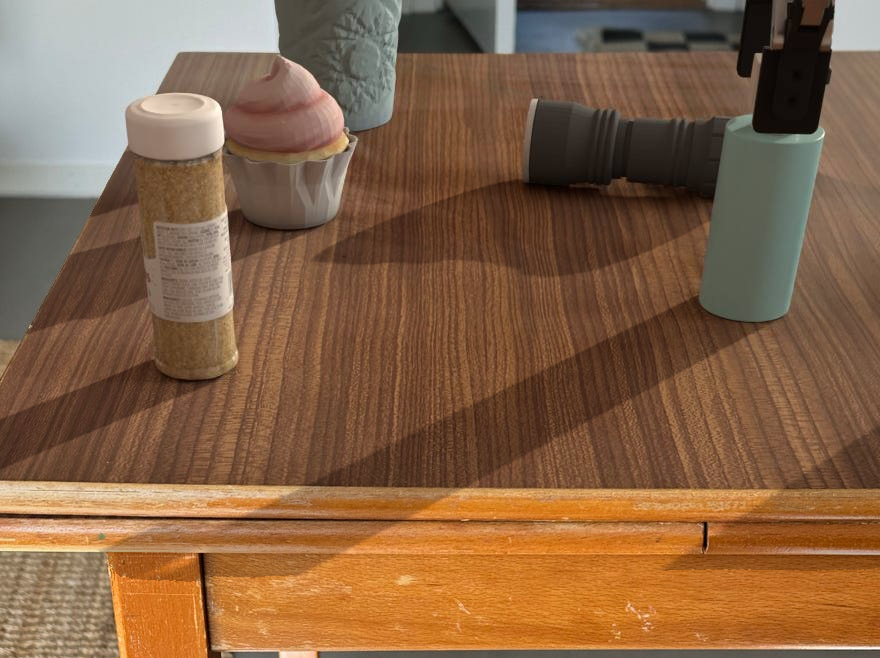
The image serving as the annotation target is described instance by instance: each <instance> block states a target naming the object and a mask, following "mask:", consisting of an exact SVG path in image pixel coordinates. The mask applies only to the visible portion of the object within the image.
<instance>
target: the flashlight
mask: <svg viewBox="0 0 880 658" xmlns="http://www.w3.org/2000/svg"><path fill="white" fill-rule="evenodd" d="M735 117H736V116H727V115H714V116H712V117H711V119H705V118H695V120H694V121H690V120H688V119H687V118H686V117H685V118H682V119H680V118H678V117H673V118H672V119H666V118H655V117H642V116H634V118H633V120H630V118H628V117H621V111H620V110H619V109H618V108H616V109H614V110H612V109H611V108H606V109H604V108H603V107H599V108H597V109H595V108H592V107H590V106H587V105H584V104H582V103H579V102H575V101H567V100H564V101H563V100H553V99H552V100H551V99H540V98H532V99H531V101H530V104H529V108H528V113H527V117H526V123H525V131H524V137H523V138H524V139H523V150H522V165H521V166H522V167H521V170H522V171H521V175H522V182H523V183H529V184H530V183H532V184H540V185H551V186H563V187H566V186H567V187H568V186H573V185H579V184H585V183H588V184H589V185H591V186H593V185H594V184H596V185H597V186H602V185H604V186H605V187H609V186H610V185H611V184H612V182H613V181H612V180H621V179H622V178H625V183H632V184H642V185H643V184H644V185H654V186H662V187H663V188H665V189H668V188H672V189H675V190H676V189H678V188H684V191H689V192H699V195H700V196H701V197H703V198H713V199H714V197H715V191H716V185H717V178H718V172H719V166H720V159H721V153H722V147H723V140H724V134H725V128H726V124H727V122H728V121H729V120H731V119H733V118H735Z"/></svg>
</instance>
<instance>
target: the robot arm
mask: <svg viewBox="0 0 880 658" xmlns="http://www.w3.org/2000/svg"><path fill="white" fill-rule="evenodd" d="M835 13H836V0H745V4H744V10H743V18H742V23H741V32H740V39H739V47H738V53H737V58H736V59H737V60H736V66H735V69H736V74H737V75H738V76H739V77H740V78H742V79H743V78H744V79H745V78H746V79H748V78H749V79H751V73H752V67H753V61H754V55H755V53H762V59H761V65H760V72H759V79H758V85H757V92H756V99H755V105H754V112H753V113H752V114H753V119H752V126H753V129H754V131H755V132H757V133H765V134H803V135H810V134H813V133H815V132H816V131H817V129H818V126H820V120H821V113H822V108H823V103H824V97H825V91H826V86H827V85H826V82H827V76H828V71H829V66H831V65H830V64H831V58H832V53H833V49H832V45H833V41H834V40H833V39H834V29H835V28H834V27H835Z"/></svg>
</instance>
